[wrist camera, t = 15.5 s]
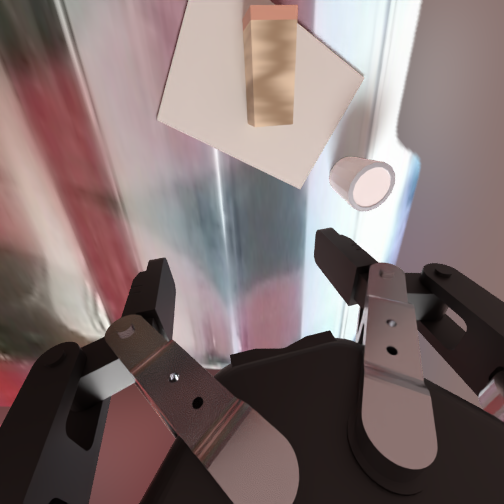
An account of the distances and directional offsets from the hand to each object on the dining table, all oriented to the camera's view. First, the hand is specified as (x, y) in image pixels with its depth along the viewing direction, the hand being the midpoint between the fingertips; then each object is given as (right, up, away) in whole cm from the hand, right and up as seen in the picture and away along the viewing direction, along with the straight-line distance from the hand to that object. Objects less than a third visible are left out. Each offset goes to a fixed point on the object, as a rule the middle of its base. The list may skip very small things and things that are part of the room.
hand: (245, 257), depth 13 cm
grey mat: (+2, +20, +18) cm, 27 cm away
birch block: (+3, +16, +17) cm, 24 cm away
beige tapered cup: (+15, +13, +26) cm, 32 cm away
